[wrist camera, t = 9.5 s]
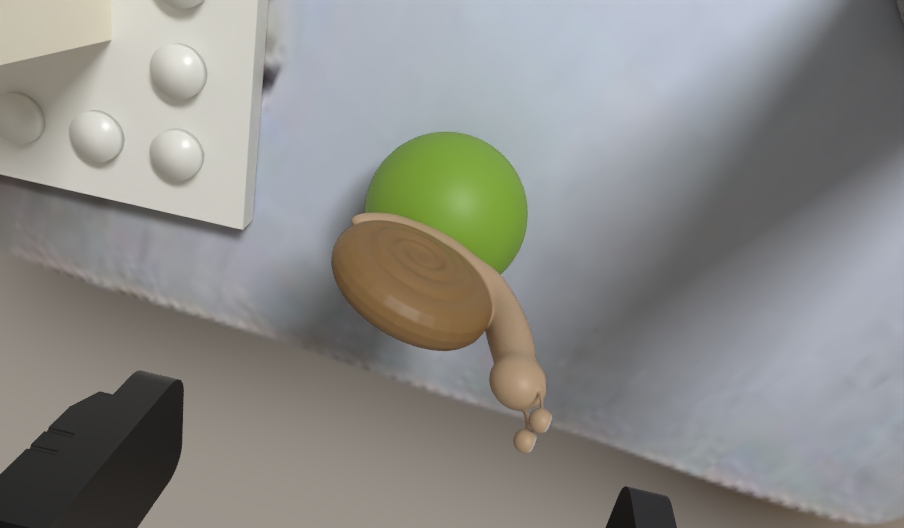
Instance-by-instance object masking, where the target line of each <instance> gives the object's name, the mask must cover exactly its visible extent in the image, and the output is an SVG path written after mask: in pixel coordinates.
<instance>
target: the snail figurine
mask: <svg viewBox="0 0 904 528" xmlns="http://www.w3.org/2000/svg"><path fill="white" fill-rule="evenodd" d="M527 217H528V211H527V201H526V195H525V191H524V188H523V185H522V183H521V180H520V178H519V176H518V174H517V173H516V171H515V169H514V168H513V166H512V165H511V164H510V162H509V161H508V160H507V159H506V158H505V157H504V156H503V155H502V154H501V153H500V152H499V151H498V150H497V149H495V148H494V147H492V146H491V145H489V144H488V143H486V142H484V141H482V140H480V139H478V138H476V137H473V136H470V135H466V134H462V133H456V132H436V133H430V134H426V135H422V136H419V137H416V138H414V139H412V140H410V141H408V142H406V143H404V144H403V145H401V146H400V147H398V148H397V149H396V150H394V151H393V152H392V153H391V154H390V155H389V156H388V157H387V158H386V159H385V160H384V161H383V163H382V164H381V165H380V166H379V168H378V169H377V171H376V173H375V175H374V176H373V179H372V181H371V183H370V186H369V189H368V192H367V196H366V202H365V213H362V214H358V215H356V216H354V217H353V218H352V224H353V225H352V226H350V227H349V228H348V229H346V230H345V231H344V232H343V233H342V234H341V235H340V236H339V238H338V239H337V241H336V243H335V245H334V247H333V252H332V261H331V263H332V269H333V274H334V278H335V280H336V283H337V285H338V287H339V289H340V291H341V292H342V294H343V295H344V297H345V298H346V299H347V301H348V302H349V303H350V305H351V306H352V307H353V308H354V309H355V310H356V311H357V312H358V313H359V314H360V315H361V316H363V317H364V318H365V319H366V320H367V321H369V322H370V323H371V324H372V325H374V326H375V327H377V328H378V329H380V330H381V331H383V332H385V333H386V334H388V335H390V336H392V337H394V338H396V339H398V340H400V341H402V342H405V343H408V344H411V345H413V346H416V347H420V348H425V349H429V350H437V351H450V350H456V349H460V348H463V347H466V346H468V345H470V344H472V343H474V342H475V341H476V340H477V339H478V338H479V337H480V336H481V335H482V334H483V333H484V331H485V332H486V336H487V340H488V344H489V347H490V351H491V354H492V357H493V361H494V365H493V367H492V369H491V372H490V386H491V389H492V392H493V394H494V395H495V397H496V398H497V399H498V401H499V402H500V403H502V404H503V405H504V406H506V407H508V408H510V409H513V410H518V411H522V412H523V413H524V416H525V423H526V429H521V430H519V431H518V432H517V433H516V434H515V436H514V446H515V448H516V449H517V450H518V451H519V452H521V453H529V452H531V451H532V449H533V448H534V447H535V445H536V442H537V437H536V435H535V433H534V432H536V433H544V432H546V431H547V430H548V429H549V427H550V426H551V423H552V416H551V414H550V412H548V411H547V410H545V409H544V407H543V400H544V398H545V395H546V376H545V374H544V372H543V370H542V368H541V367H540V365H539V364H538V363H537V361H536V357H535V347H534V342H533V338H532V334H531V331H530V328H529V325H528V322H527V319H526V317H525V314H524V312H523V310H522V308H521V306H520V304H519V302H518V300H517V298H516V297H515V295H514V293H513V292H512V290H511V289H510V287H509V285H508V284H507V282H506V281H505V280H504V279H503V277H502V276H501V275H500V274H502V273H503V272H504V271H505V270H506V268H507V267H508V266H509V265H510V264H511V262H512V261H513V260H514V258H515V256H516V255H517V253H518V251H519V249H520V247H521V245H522V242H523V239H524V236H525V232H526V227H527ZM539 404H540V408H539V409H535V410H534V411H532V412H531V414H530V415H529V419H528V414H527V411H528V410H530V409H533V408H535V407H537V406H538V405H539ZM529 426H530V428H531V429H532V430H533V431H534V432H533V431H531V430H529Z"/></svg>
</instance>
